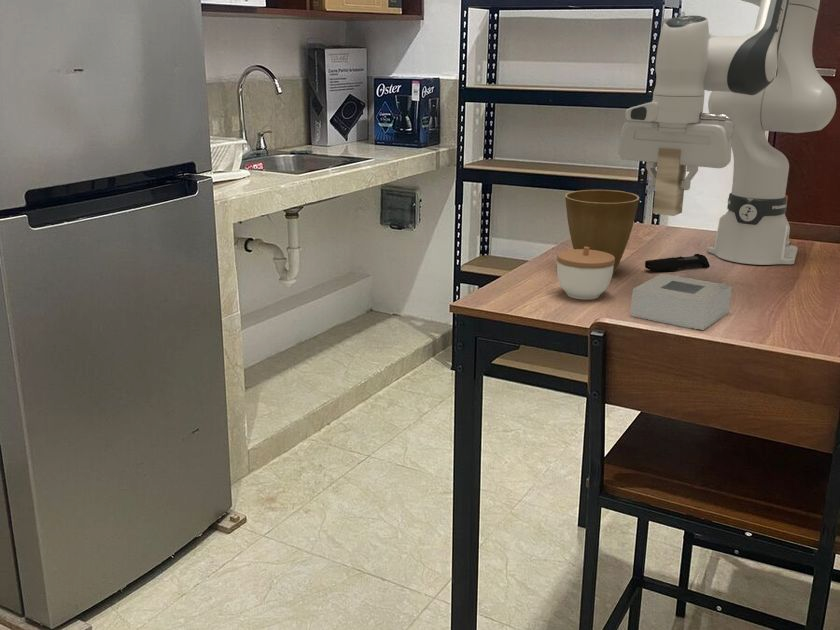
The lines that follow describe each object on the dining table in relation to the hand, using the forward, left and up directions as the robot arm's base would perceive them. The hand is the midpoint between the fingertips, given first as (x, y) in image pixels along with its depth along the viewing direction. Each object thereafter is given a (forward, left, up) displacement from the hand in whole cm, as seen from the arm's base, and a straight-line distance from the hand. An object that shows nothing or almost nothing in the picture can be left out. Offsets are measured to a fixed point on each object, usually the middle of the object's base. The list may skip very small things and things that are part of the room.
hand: (669, 188), depth 156 cm
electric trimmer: (-20, -4, -21) cm, 29 cm away
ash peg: (0, 0, -5) cm, 5 cm away
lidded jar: (+10, -11, -21) cm, 25 cm away
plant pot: (-8, -17, -21) cm, 28 cm away
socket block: (+10, +8, -20) cm, 24 cm away
